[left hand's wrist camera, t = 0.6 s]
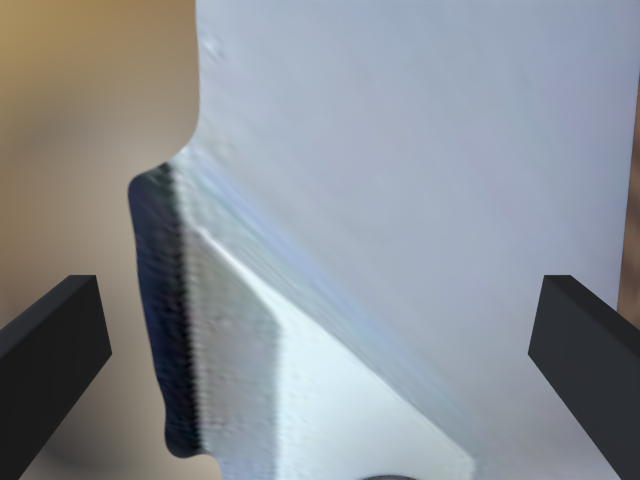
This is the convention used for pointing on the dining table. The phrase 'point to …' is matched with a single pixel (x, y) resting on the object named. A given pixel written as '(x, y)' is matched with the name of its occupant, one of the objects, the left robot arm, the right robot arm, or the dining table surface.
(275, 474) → the dining table surface
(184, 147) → the dining table surface
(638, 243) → the post
